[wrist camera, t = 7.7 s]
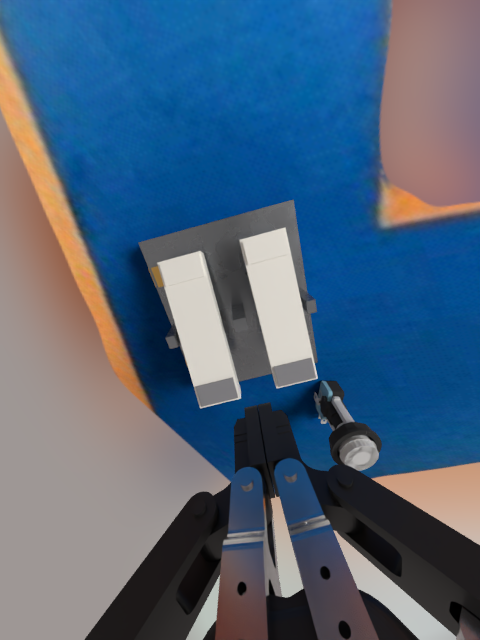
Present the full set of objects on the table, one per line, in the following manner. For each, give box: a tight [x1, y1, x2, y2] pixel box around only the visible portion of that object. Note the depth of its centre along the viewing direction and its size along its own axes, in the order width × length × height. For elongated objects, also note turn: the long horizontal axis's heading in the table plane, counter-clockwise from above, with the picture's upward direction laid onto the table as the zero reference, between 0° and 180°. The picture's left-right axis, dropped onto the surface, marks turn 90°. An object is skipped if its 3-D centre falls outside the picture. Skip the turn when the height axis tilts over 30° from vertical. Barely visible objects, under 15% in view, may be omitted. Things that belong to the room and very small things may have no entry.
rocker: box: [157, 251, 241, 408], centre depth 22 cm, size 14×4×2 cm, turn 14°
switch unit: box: [139, 200, 318, 382], centre depth 24 cm, size 18×15×7 cm
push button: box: [314, 381, 382, 470], centre depth 29 cm, size 7×5×10 cm
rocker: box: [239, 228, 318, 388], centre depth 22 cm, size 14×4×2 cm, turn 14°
